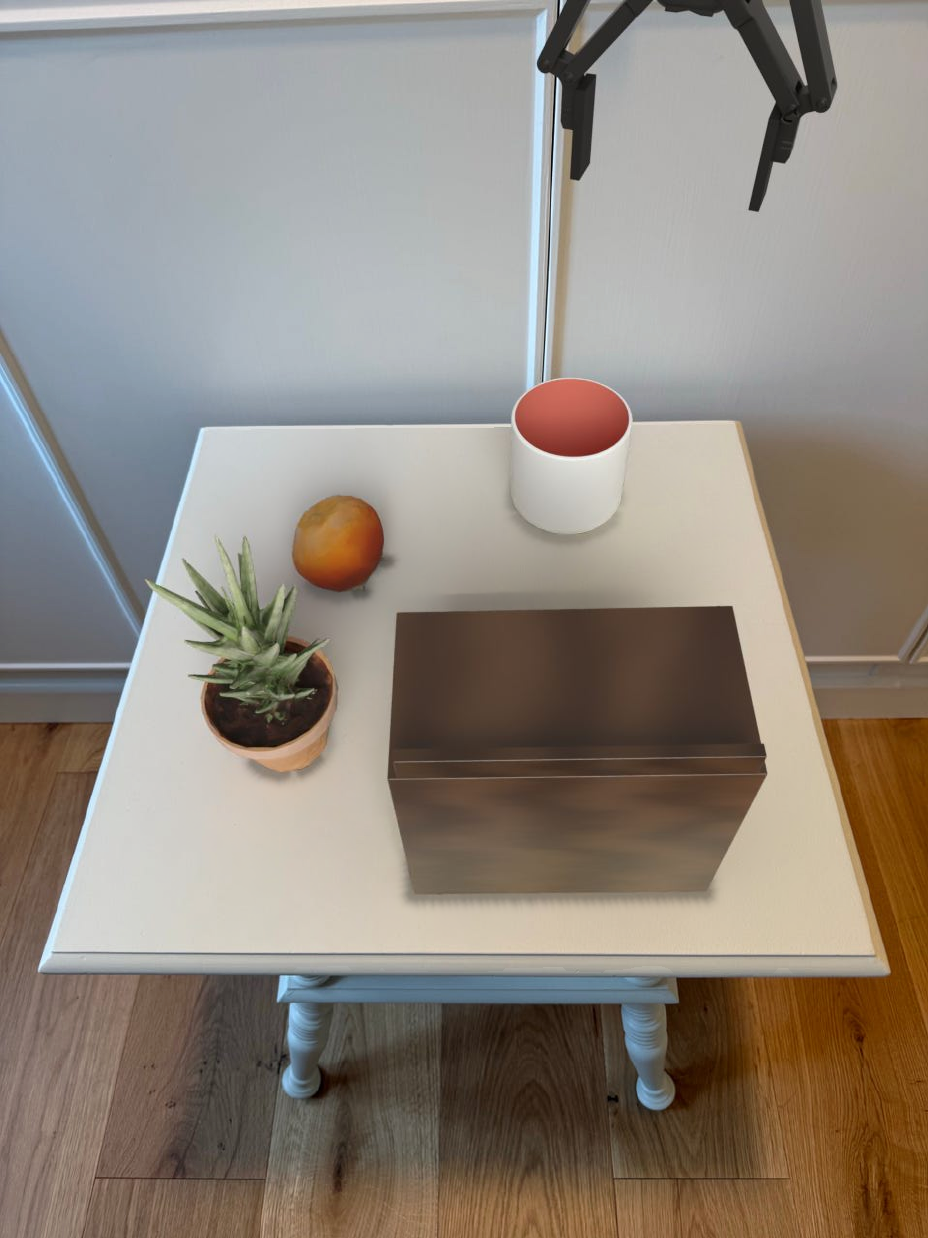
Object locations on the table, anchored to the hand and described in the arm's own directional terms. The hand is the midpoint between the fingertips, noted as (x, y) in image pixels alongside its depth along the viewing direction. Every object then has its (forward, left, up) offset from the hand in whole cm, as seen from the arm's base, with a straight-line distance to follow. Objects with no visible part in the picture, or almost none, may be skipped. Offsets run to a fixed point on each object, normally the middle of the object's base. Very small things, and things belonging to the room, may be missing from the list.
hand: (666, 186), depth 69 cm
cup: (+4, +10, -25) cm, 27 cm away
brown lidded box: (-2, +41, -25) cm, 48 cm away
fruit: (+21, +23, -25) cm, 40 cm away
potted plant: (+19, +40, -25) cm, 51 cm away
